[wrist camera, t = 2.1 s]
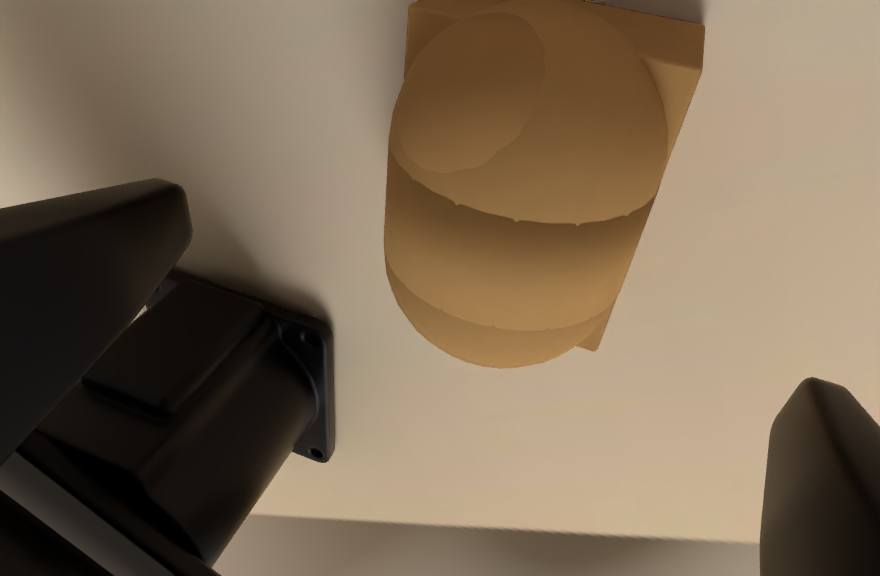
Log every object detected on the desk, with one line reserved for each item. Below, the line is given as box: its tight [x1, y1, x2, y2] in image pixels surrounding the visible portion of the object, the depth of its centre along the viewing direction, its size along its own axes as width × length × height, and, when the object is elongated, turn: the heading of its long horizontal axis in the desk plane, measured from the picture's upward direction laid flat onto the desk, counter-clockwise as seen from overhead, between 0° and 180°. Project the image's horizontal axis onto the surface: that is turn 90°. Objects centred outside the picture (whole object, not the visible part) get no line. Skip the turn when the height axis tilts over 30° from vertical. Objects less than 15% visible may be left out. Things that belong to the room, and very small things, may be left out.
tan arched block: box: [384, 0, 705, 368], centre depth 11 cm, size 6×4×5 cm
